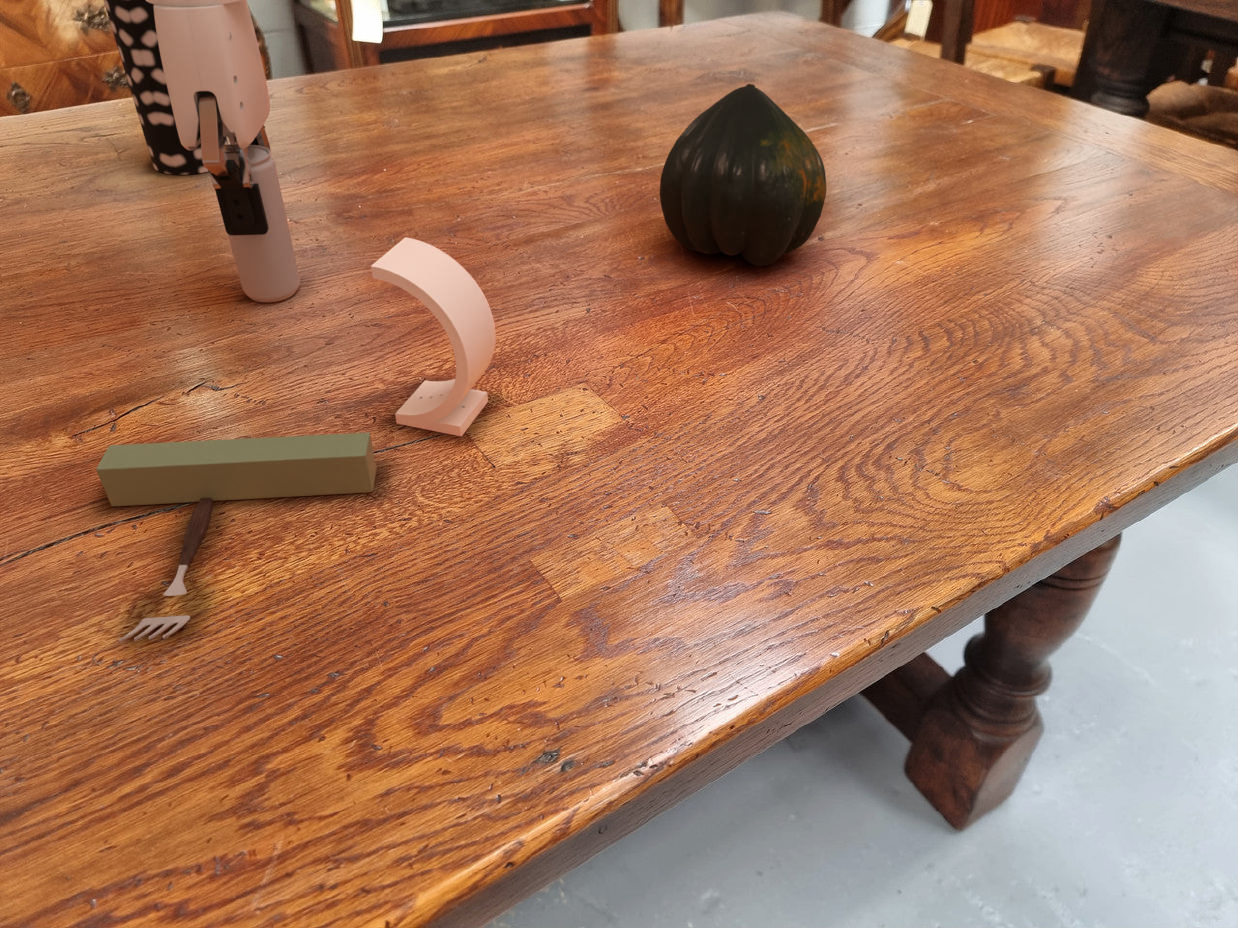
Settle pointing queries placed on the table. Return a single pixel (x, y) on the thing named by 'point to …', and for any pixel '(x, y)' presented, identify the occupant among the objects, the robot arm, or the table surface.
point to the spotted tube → (150, 86)
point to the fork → (180, 572)
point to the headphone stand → (463, 322)
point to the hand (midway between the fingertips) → (255, 217)
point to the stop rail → (238, 469)
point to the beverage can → (266, 238)
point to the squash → (743, 180)
